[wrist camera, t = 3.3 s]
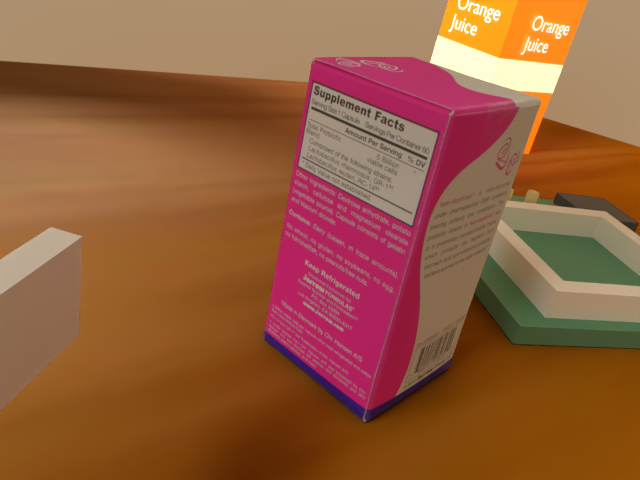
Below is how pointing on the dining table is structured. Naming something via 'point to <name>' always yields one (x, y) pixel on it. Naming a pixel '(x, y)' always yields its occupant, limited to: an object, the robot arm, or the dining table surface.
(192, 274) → the dining table surface
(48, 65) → the dining table surface
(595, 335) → the socket board
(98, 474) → the dining table surface
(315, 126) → the supplement box
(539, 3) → the orange juice
